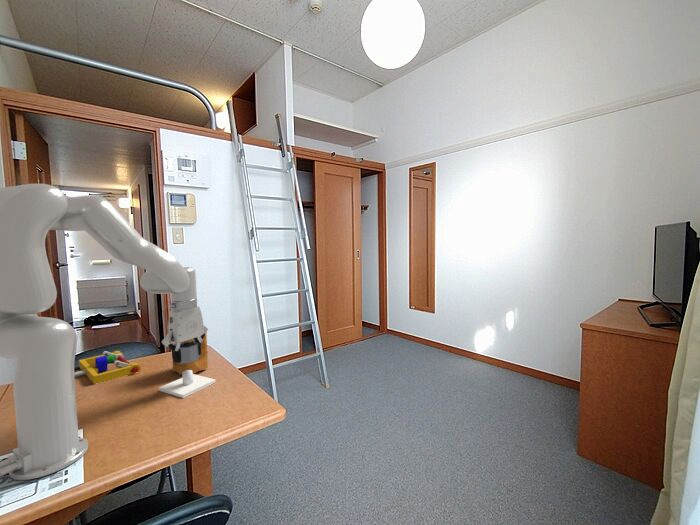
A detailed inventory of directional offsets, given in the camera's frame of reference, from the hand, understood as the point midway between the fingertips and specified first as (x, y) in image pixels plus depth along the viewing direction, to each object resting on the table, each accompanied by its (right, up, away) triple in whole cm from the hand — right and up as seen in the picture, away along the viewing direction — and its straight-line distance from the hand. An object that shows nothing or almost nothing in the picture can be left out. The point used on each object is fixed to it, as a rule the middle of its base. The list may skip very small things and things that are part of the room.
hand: (187, 357), depth 104 cm
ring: (0, -1, 0) cm, 1 cm away
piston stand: (0, -10, 0) cm, 10 cm away
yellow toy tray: (-41, -10, +15) cm, 45 cm away
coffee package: (-6, -9, +14) cm, 18 cm away
